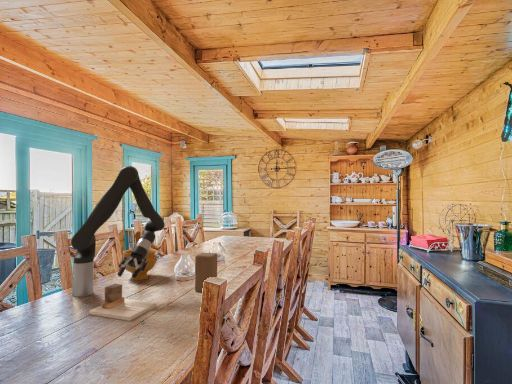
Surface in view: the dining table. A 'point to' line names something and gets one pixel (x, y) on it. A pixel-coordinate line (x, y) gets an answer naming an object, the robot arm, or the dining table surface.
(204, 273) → the wooden block
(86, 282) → the robot arm
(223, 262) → the dining table surface
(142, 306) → the board
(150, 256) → the mustard brown vase
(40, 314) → the dining table surface
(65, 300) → the dining table surface
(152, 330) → the dining table surface
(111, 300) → the block
